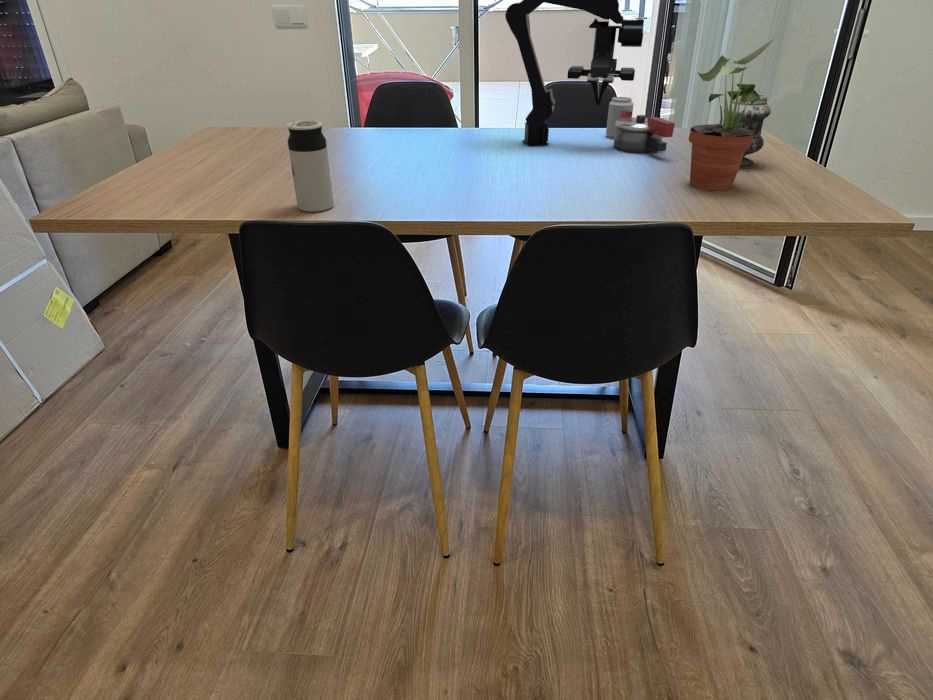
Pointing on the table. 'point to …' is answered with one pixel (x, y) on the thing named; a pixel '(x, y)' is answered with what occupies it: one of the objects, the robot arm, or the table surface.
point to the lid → (645, 124)
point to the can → (617, 113)
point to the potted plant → (722, 133)
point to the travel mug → (310, 166)
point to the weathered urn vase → (752, 123)
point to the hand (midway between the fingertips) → (597, 105)
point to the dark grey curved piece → (638, 142)
